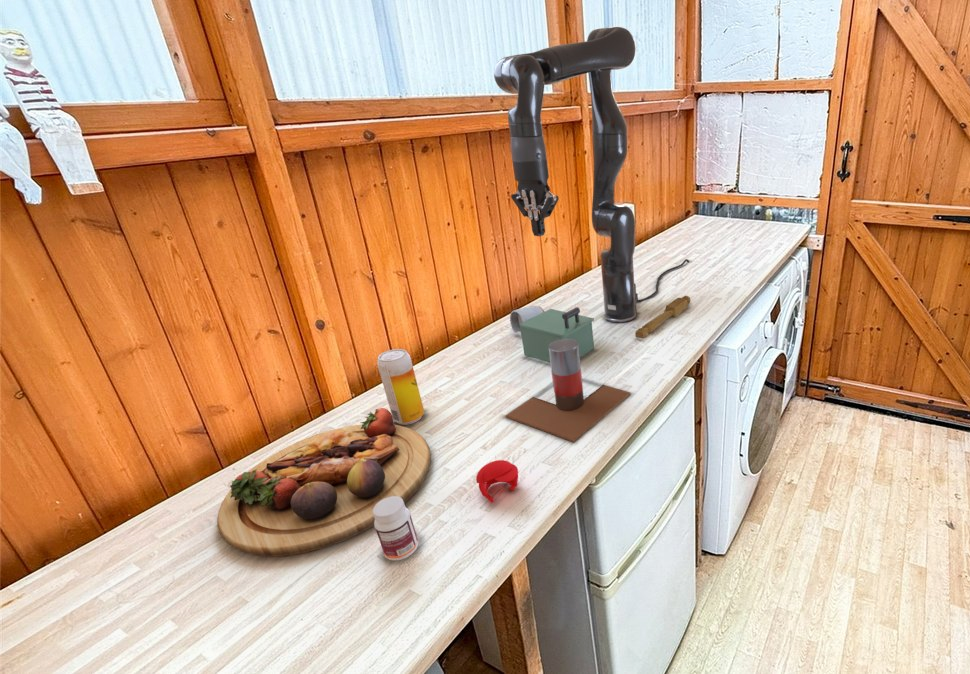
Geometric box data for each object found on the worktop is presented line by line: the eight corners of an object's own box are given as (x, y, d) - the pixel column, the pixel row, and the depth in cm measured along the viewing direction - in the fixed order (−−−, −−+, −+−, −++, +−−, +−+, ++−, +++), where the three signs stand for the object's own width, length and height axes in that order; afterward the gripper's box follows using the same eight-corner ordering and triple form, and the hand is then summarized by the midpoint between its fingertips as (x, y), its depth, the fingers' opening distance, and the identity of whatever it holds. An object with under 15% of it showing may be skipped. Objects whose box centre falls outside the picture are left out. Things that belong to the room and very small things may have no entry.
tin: (561, 395, 115) (554, 337, 109) (587, 397, 114) (582, 339, 108) (551, 410, 109) (543, 350, 103) (579, 412, 108) (572, 352, 102)
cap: (469, 499, 86) (462, 471, 84) (490, 476, 91) (485, 449, 89) (511, 510, 84) (505, 480, 81) (530, 485, 89) (525, 457, 86)
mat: (567, 375, 124) (566, 373, 123) (630, 394, 115) (630, 392, 115) (505, 417, 108) (505, 415, 108) (573, 442, 100) (573, 440, 99)
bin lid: (594, 320, 131) (592, 304, 129) (564, 337, 122) (562, 320, 120) (550, 310, 138) (548, 295, 136) (519, 326, 129) (517, 310, 127)
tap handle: (634, 328, 140) (683, 293, 163) (634, 339, 141) (683, 302, 164) (643, 331, 138) (692, 294, 162) (644, 341, 140) (692, 304, 163)
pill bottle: (391, 538, 79) (377, 495, 76) (423, 535, 79) (410, 492, 76) (379, 563, 75) (363, 519, 71) (413, 560, 75) (399, 516, 72)
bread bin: (594, 350, 135) (591, 319, 132) (565, 369, 126) (562, 337, 123) (554, 340, 142) (550, 310, 138) (524, 357, 133) (519, 326, 129)
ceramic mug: (550, 331, 148) (547, 305, 144) (526, 340, 142) (522, 314, 139) (529, 322, 154) (525, 297, 151) (505, 330, 149) (501, 305, 146)
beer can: (431, 412, 111) (415, 349, 105) (410, 428, 106) (393, 363, 99) (408, 408, 113) (391, 346, 106) (387, 423, 108) (368, 359, 101)
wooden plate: (364, 416, 110) (353, 382, 107) (469, 460, 96) (461, 423, 92) (184, 513, 85) (162, 473, 82) (289, 593, 71) (268, 549, 67)
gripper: (563, 156, 114) (571, 234, 122) (519, 155, 121) (529, 229, 128) (540, 160, 109) (550, 242, 116) (495, 159, 115) (507, 236, 122)
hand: (539, 235), depth 122 cm, fingers closed
